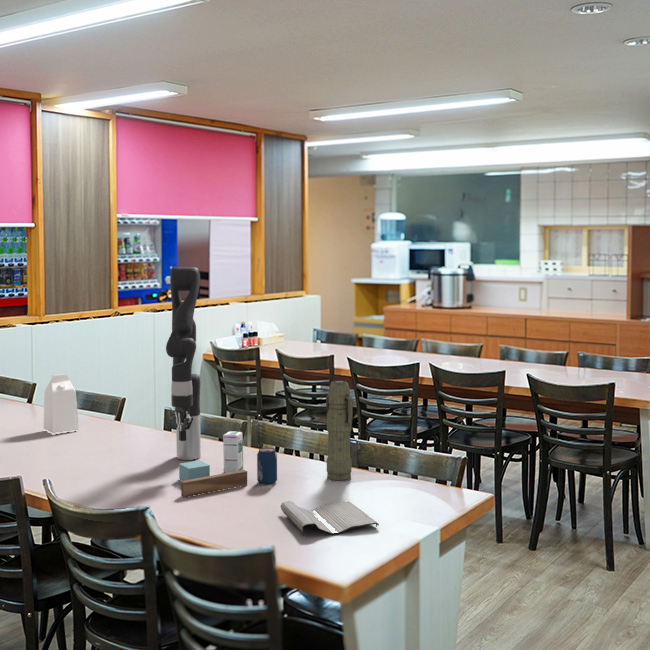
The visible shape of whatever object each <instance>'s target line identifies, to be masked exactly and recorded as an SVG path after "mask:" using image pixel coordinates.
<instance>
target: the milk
mask: <svg viewBox="0 0 650 650" xmlns="http://www.w3.org/2000/svg"><path fill="white" fill-rule="evenodd" d="M43 399H44V401H43V428H44V429H46V430H48V431H50V432H52V433H56V432H63V431H71V430H78V429H79V428H80V426H79V413H78V400H77V391H76V389H75V387H74V386H73V383H72V381H70V378H69V376H68V375H67V374H66V373H62V374H53V375H52V376H51V379H50V381H49V383H48V385H47V386H46V387H45V390H44V398H43ZM79 430H80V429H79Z"/></svg>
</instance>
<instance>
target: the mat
mask: <svg viewBox="0 0 650 650" xmlns="http://www.w3.org/2000/svg"><path fill="white" fill-rule="evenodd" d="M280 509H281V511H282V512H283V514H284V515H285V516H286V518H288V519H289V520H290V521H291V522H292V523H293V524H294V525H295V526H296V527H297V528H298V529H299V530H300V531H301V532H302V534H303V535H305V532H304V528H305V527H307V526H312V527H315V528H317V530H321V531H323V532H326V533H327V534H334V533H332V532H331V531H330V530H329V529H328V528H327V527H326V526H325V525H324V524H323V523H322V522H321V521H319V520H318V518H316V517H315V516H314V515H315V514H314V513H313V512H312V511H311V510H308V509H306V508H303V507H300V506H298V505H297V504H296V503H295V502H293V501H292V500H291V501H290V500H289V501H283V502H282V503H281V504H280ZM313 510H315V511H316V512H317V513H318V514H319V515H320V516H321V517H322V518H323V519H325V520H326V522H327V523H328V524H330V525H331V526H332V527H333V528H335V531H337V532H338V533H340V532H342V533H344V532H345V531H349V530H350V529H353V528H362V527H366V526H369V525H375V528H376V527H378V526H379V525H380V524H379V523H378V522H377V521H376V520H374V519H373V518H372V517H370V516H369V515H368V514H366V513H365V512H364V511H363V510H362V509H360V508H359V507H357V505H355V504H353V503H352V502H351V501H349V500H348V501H339V502H332V503H326V504H323V505H321V506H319V507H317V508H315V509H313ZM310 511H311V512H312V513H313V514H314V515H313V514H312V513H311V512H310ZM340 534H341V533H340ZM334 535H335V534H334Z"/></svg>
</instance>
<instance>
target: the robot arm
mask: <svg viewBox="0 0 650 650" xmlns="http://www.w3.org/2000/svg"><path fill="white" fill-rule="evenodd" d="M169 273H170V274H169V276H170V277H169V278H170V279H169V281H170V294H171V307H172V308H171V311H172V312H171V333H170V335H169V337H168V339H167V341H166V344H165V352H166V355H167V356H168V357H170V358H172V367H171V385H170V387H171V389H170V391H171V395H170V396H171V407H173V408H174V412H171V417H172V420H173V423H174V427H175V428H176V436H175V439H176V459H177V460H180V459H181V460H180V461H194V460H193V459H195V460H197V458H198V459H200V458H201V456H202V455H201V447H202V445H201V443H202V441H201V402H200V401H201V377H200V375H199V374H198V373H192V368H193V363H194V358H195V355H196V351H197V343H196V342H197V325H196V322H195V320H194V315H195V313H194V312H195V308H196V305H197V300H198V296H199V290H200V286H201V272H200V270H199V268H198V267H194V266H174V267H172V268H171V269H170V272H169ZM181 292H188V295H186V298H185V299H184V300H183V299H182V297H181Z"/></svg>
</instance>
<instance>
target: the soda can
mask: <svg viewBox="0 0 650 650" xmlns="http://www.w3.org/2000/svg"><path fill="white" fill-rule="evenodd" d="M256 459H257V460H256V462H257V463H256V468H257V469H256V471H257V473H256V480H257V483H258V484H259V485H261V486H273V485H275V484H276V482H277V481H278V454H277V451H276V449H275V448H273V447H262V448H259V449H258V452H257V454H256Z"/></svg>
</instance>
